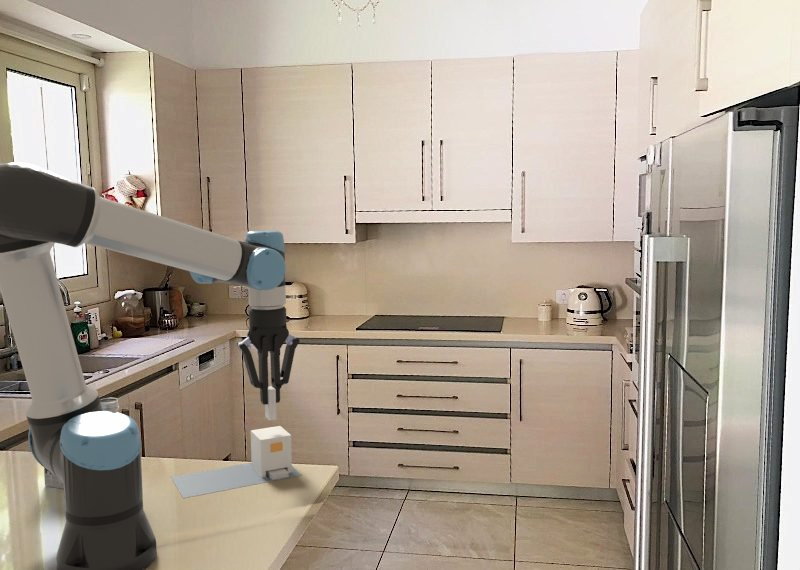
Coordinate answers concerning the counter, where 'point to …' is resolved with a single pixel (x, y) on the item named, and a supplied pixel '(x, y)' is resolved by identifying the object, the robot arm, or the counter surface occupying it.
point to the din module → (270, 450)
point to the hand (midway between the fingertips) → (270, 418)
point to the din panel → (226, 479)
